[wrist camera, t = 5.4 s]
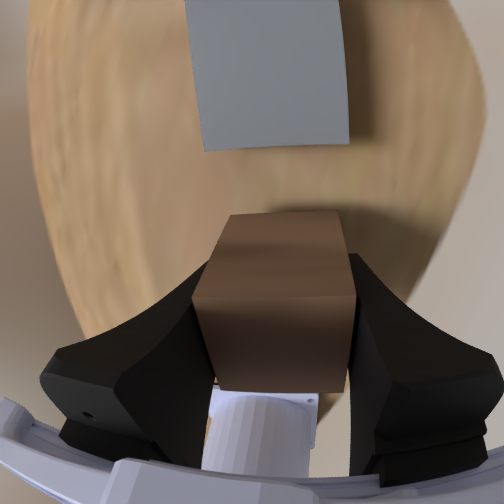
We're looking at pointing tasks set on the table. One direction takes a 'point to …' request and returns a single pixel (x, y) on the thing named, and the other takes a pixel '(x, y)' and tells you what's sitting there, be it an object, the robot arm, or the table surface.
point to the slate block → (268, 72)
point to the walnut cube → (278, 304)
